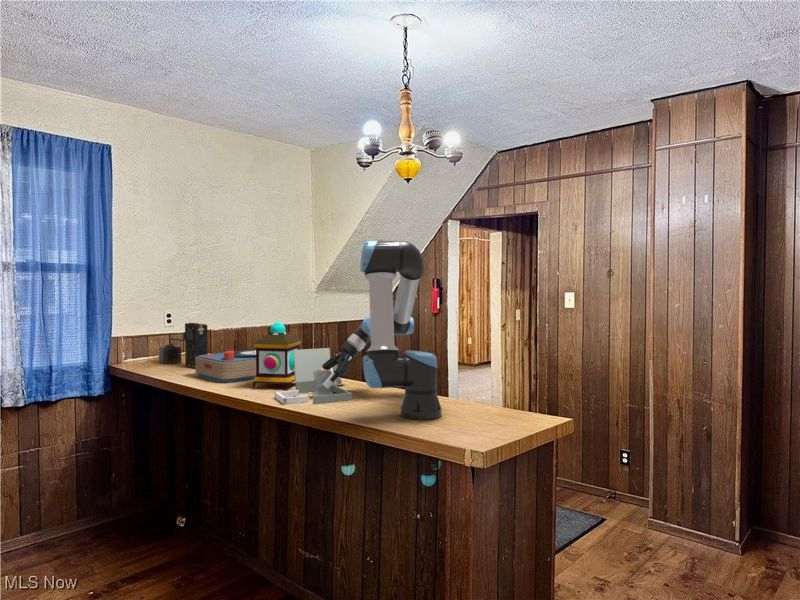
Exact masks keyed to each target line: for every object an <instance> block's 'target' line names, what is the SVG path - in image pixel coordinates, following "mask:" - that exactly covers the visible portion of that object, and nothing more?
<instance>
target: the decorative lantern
mask: <svg viewBox="0 0 800 600" xmlns="http://www.w3.org/2000/svg"><path fill="white" fill-rule="evenodd" d="M301 343H302V340H301V339H300V338H298V337H297V336H293V335H292V334H290V333H289V332H288V331H286V326H285V325H284V324H283V323H282V322H280V321H276V322H274V323H273V324H272V325H271V326H270V330H269V332H267V334H266V335H265V336H263V337H262V338H258V339H257V340H255V342H254V343H253V347H254V349H256V377H255V379H254V380H252V386H253V388H256V389H257V388H258V384H278V385H285V387H286V391H290V387H291V384H292V383H295V369H294V354H293V350H300V345H301Z"/></svg>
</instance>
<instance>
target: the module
mask: <svg viewBox="0 0 800 600" xmlns="http://www.w3.org/2000/svg"><path fill="white" fill-rule="evenodd" d="M331 375H332V372H331V371H329V370H326V369H322V370H316V371H314V392H313V396H322V395H332V392H333V391H332V385H331V386H330V387H329V388H328V389H327V388H326V387H325V386H324V385H323V384H324V383H325V381H326V380H327V379H328V378H329V377H330V376H331Z"/></svg>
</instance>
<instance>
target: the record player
mask: <svg viewBox="0 0 800 600" xmlns="http://www.w3.org/2000/svg"><path fill="white" fill-rule="evenodd" d="M195 364H196V369H195V373H196V374H197V377H198V378H201V377H202V379H204V380H205V379H206V380H208V381H209V380H210V381H213V380H214V382H217V383H220V382H222V383H221V384H230V383H229V382H231V383H238V381H239V382H245V381H244V380H246V381H251V379H255V377H256V348H251V349H250V348H249V349H241V350H227V351H224V352H219V353H218V352H217V353H208V354H206V355H199V356H198V357H195Z"/></svg>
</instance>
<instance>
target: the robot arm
mask: <svg viewBox="0 0 800 600" xmlns="http://www.w3.org/2000/svg"><path fill="white" fill-rule="evenodd" d="M360 256H361V257H360V265H359V266H360V267H359V269H360V272H361V273H364V278H365V279H366V280H367V281H368V284H369V285H368V286H369V289H368V292H369V295H368V297H369V315H368V316H366V317H365V318H364V319H363V320H362V322H361V324H360V325H359V326H358V327H357V329H356V330H354V332H352V334H350V336H349V337H348V338H347V340H346V341H345V342H344V343H343V344H342V345H341V346H340V349H341V352H340V351H338V350H337V352H336V353H335V354H334V355H332V356H330V359H329V360H328V361H326V362H325V363H324V364H323V365H322V366H323V367H322V369H326V370H329V369H331V368H332V367H334V366H335V365H337V364H338V366H337V368H336V370H335V371H333V372H334V373H332V375H331V376H330V377H329V378H328V379H327V380H326V381H325V383H324V384H323V385H324V386H325V387H326V388H327V389H328V388H329V387H330V386H331V385H332V384H333V383H334V381H335V380H336V379H337V378H341V377H340V376H342V377H344V376H343V374H344V373H345V371H346V369H347V367H348V368H349V366H350V364H351V362H352V361H353V360H354V359H355V358H356V357H357V356H358V355H359V352H361V351H362V350H363V349H365V347H366V345H367V343H369V342H370V347H369V348H368V349H367V350H366V354H365V355H363V357H362V368H363V374H364V379H365V381H366V385H367V386H368V388H371V389H390V388H391V389H392V388H393V389H394V388H404V397H403V399H402V403H401V405H400V409H399V413H400V414H399V415H400V417H402V418H405V419H409V420H421V421H423V420H433V419H438V418H441V417H442V410H443V409H442V407H441V406H442V405H441V403H440V400H439V397H438V361H437V356H436V355H435V354H433V353H431V352H426V351H420V350H412V349H411V350H408V349H407V350H405V351H404V353H403V354H400V349H399V348H398V347H397V346H396V345H395V336H397V335H398V336H400V335H402V336H404V335H411V334H413V333H414V331H415V320H414V318H413V317H412V313H413V309H414V305H415V301H416V296H417V292H418V287H419V282H420V280H421V279H422V278H423V276H424V273H425V260H424V256H423V255H422V253H421V251H420V250H419V249H418V247H417V246H415V244H413V243H411V242H409V241H406V240H378V239H376V240H368V241H366V242H364V243H363V246H362V251H361V255H360ZM397 273H398V274H399V275H400V276H399V282H398V288H397V292H396V298H395V303H394V295H393V280H394V279H395V278H396V277H397ZM322 369H321V370H322ZM313 380H314V378H313Z"/></svg>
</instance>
